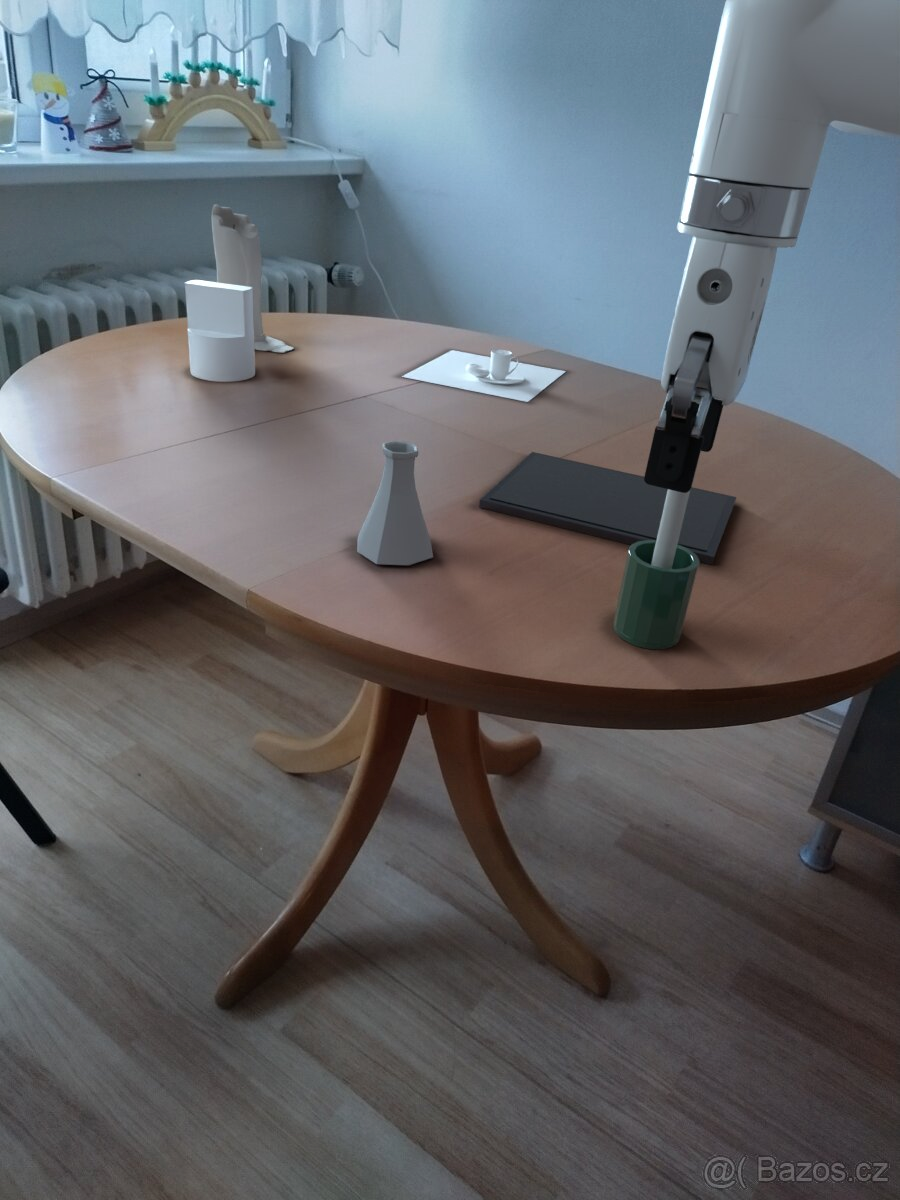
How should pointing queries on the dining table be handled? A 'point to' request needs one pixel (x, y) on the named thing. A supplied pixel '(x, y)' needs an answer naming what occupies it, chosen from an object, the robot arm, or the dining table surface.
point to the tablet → (606, 503)
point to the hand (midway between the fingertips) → (679, 466)
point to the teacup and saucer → (487, 374)
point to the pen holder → (654, 597)
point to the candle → (242, 265)
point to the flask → (396, 513)
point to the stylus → (670, 529)
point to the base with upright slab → (220, 331)
